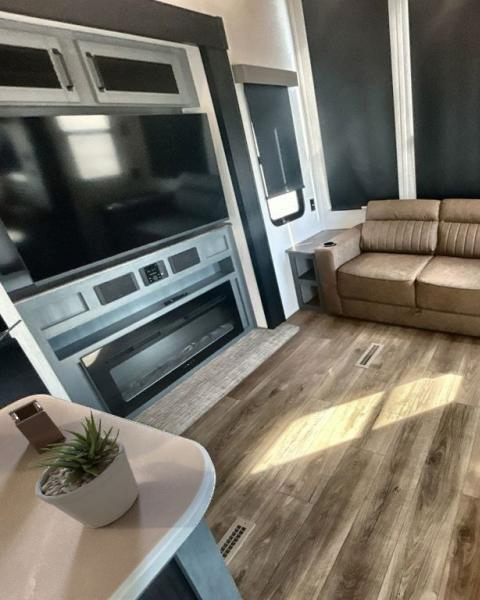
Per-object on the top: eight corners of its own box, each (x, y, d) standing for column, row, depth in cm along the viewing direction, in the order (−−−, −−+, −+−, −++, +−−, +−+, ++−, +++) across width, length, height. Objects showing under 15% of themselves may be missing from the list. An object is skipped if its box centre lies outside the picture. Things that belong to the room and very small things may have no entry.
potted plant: (113, 547, 62) (46, 470, 52) (54, 533, 65) (-18, 459, 56) (169, 481, 72) (122, 407, 63) (116, 471, 76) (64, 400, 66)
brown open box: (31, 440, 87) (7, 412, 83) (56, 425, 91) (35, 399, 86) (39, 454, 83) (15, 426, 79) (66, 438, 86) (44, 411, 82)
